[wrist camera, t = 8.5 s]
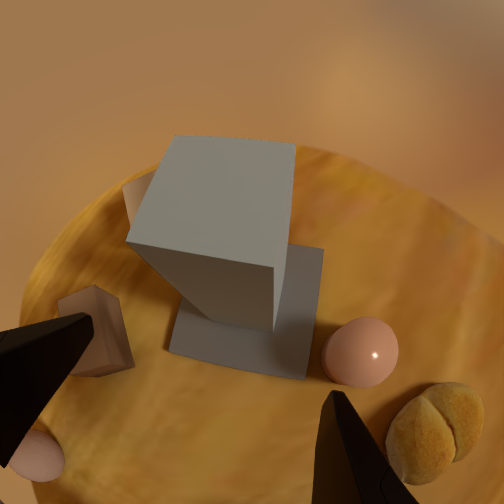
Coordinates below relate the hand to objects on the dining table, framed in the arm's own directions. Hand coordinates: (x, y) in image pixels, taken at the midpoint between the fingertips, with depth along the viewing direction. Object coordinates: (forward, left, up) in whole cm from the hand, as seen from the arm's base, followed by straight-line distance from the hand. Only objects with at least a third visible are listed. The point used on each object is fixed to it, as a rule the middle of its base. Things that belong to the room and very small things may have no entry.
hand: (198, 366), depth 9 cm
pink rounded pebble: (+7, -5, -11) cm, 14 cm away
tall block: (+4, +4, -10) cm, 12 cm away
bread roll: (+7, -15, -12) cm, 20 cm away
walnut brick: (-8, +8, -11) cm, 16 cm away
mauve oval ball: (-20, +2, -11) cm, 23 cm away
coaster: (+4, +3, -11) cm, 12 cm away
